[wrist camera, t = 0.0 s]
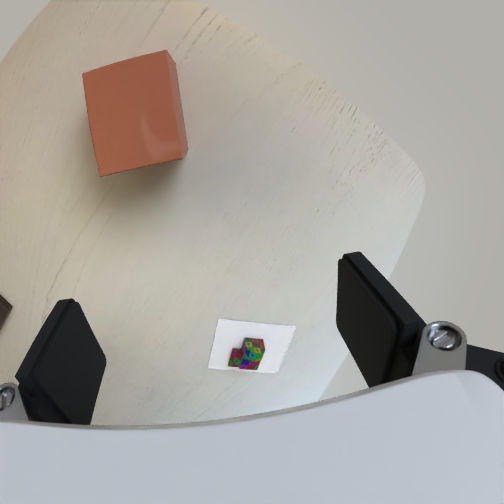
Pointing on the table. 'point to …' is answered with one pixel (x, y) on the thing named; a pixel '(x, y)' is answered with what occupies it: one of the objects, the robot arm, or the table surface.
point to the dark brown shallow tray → (4, 310)
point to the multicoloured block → (249, 346)
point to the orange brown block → (135, 113)
